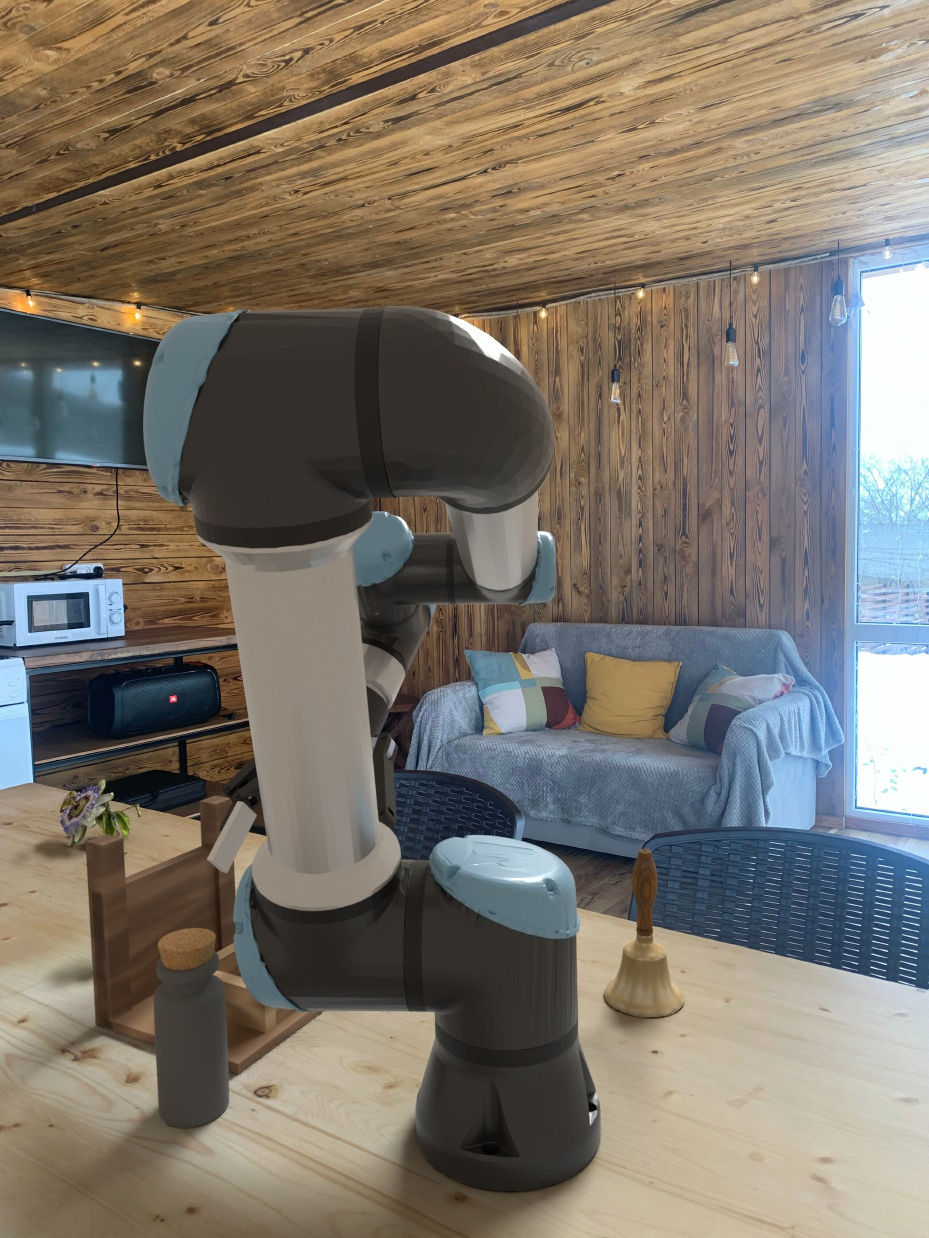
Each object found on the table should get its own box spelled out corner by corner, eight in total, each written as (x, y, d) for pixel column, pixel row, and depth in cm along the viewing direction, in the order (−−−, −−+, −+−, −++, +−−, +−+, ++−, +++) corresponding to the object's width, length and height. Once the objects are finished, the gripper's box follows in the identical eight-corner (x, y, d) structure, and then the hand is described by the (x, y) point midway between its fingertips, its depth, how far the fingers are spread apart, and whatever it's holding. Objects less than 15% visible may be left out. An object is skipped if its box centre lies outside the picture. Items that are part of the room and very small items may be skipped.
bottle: (244, 1099, 80) (237, 933, 79) (191, 1137, 75) (182, 960, 74) (197, 1079, 83) (190, 919, 82) (144, 1114, 78) (135, 944, 77)
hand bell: (701, 1000, 96) (701, 851, 94) (647, 1027, 90) (647, 870, 89) (640, 971, 102) (640, 831, 101) (587, 995, 97) (586, 848, 96)
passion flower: (75, 878, 149) (38, 815, 151) (132, 847, 157) (97, 788, 159) (99, 852, 142) (60, 788, 144) (157, 822, 150) (120, 761, 152)
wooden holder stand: (353, 988, 99) (348, 816, 98) (238, 1074, 84) (230, 871, 82) (222, 953, 109) (215, 795, 107) (95, 1024, 93) (85, 841, 91)
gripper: (472, 725, 95) (397, 918, 83) (284, 707, 107) (195, 874, 96) (445, 681, 90) (361, 881, 78) (251, 668, 102) (153, 839, 90)
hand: (270, 877), depth 87 cm, fingers open, 13 cm apart
